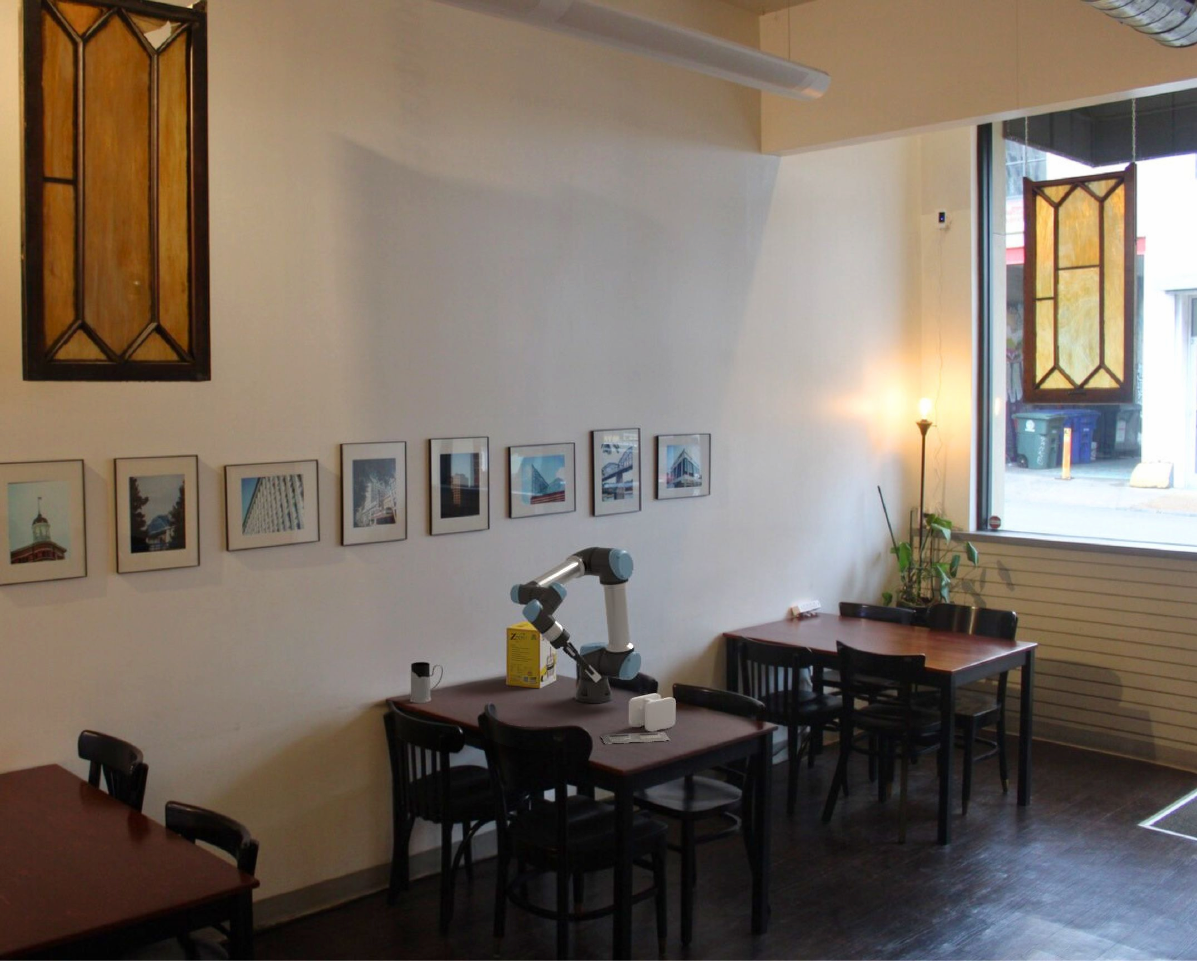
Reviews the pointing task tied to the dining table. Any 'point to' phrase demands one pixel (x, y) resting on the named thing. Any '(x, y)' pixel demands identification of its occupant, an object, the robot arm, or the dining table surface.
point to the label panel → (634, 737)
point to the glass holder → (421, 682)
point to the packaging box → (529, 657)
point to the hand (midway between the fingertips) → (598, 679)
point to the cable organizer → (652, 712)
